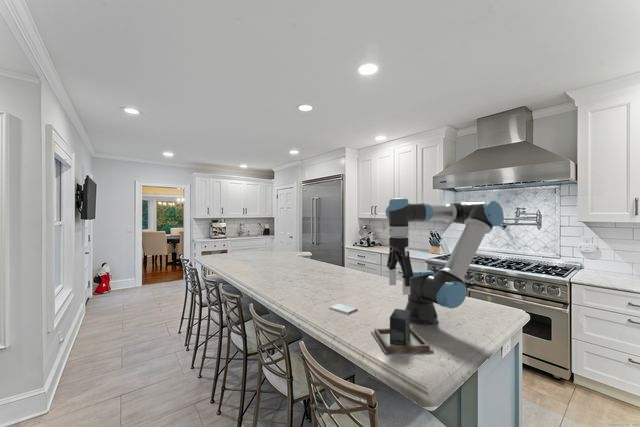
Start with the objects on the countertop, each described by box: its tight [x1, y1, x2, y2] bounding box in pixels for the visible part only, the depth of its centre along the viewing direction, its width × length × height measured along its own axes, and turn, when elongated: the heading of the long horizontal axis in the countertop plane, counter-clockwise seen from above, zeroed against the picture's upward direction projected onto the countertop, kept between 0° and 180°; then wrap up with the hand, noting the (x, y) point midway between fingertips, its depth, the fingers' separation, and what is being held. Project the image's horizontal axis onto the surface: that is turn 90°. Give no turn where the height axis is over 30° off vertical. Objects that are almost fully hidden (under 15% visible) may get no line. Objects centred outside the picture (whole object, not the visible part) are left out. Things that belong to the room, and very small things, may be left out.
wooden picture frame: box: [370, 327, 435, 355], centre depth 109 cm, size 18×18×2 cm
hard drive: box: [328, 302, 358, 315], centre depth 145 cm, size 2×8×12 cm
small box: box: [389, 308, 411, 345], centre depth 109 cm, size 11×6×10 cm, turn 154°
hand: (399, 289), depth 112 cm, fingers open, 13 cm apart
